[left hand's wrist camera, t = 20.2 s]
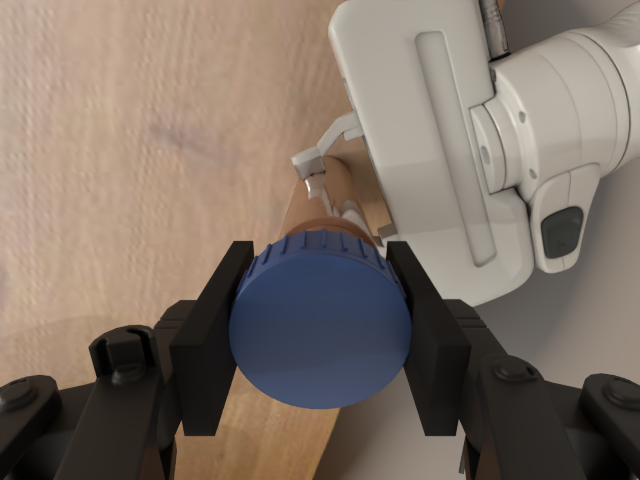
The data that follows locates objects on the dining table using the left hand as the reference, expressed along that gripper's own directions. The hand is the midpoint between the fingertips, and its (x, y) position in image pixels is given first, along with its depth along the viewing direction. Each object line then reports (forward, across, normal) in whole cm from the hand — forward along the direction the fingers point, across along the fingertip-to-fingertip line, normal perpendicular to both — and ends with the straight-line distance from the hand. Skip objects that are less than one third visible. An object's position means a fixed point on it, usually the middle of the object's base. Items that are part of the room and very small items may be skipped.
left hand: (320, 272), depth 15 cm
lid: (-4, 0, 0) cm, 4 cm away
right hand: (+10, 0, 0) cm, 10 cm away
